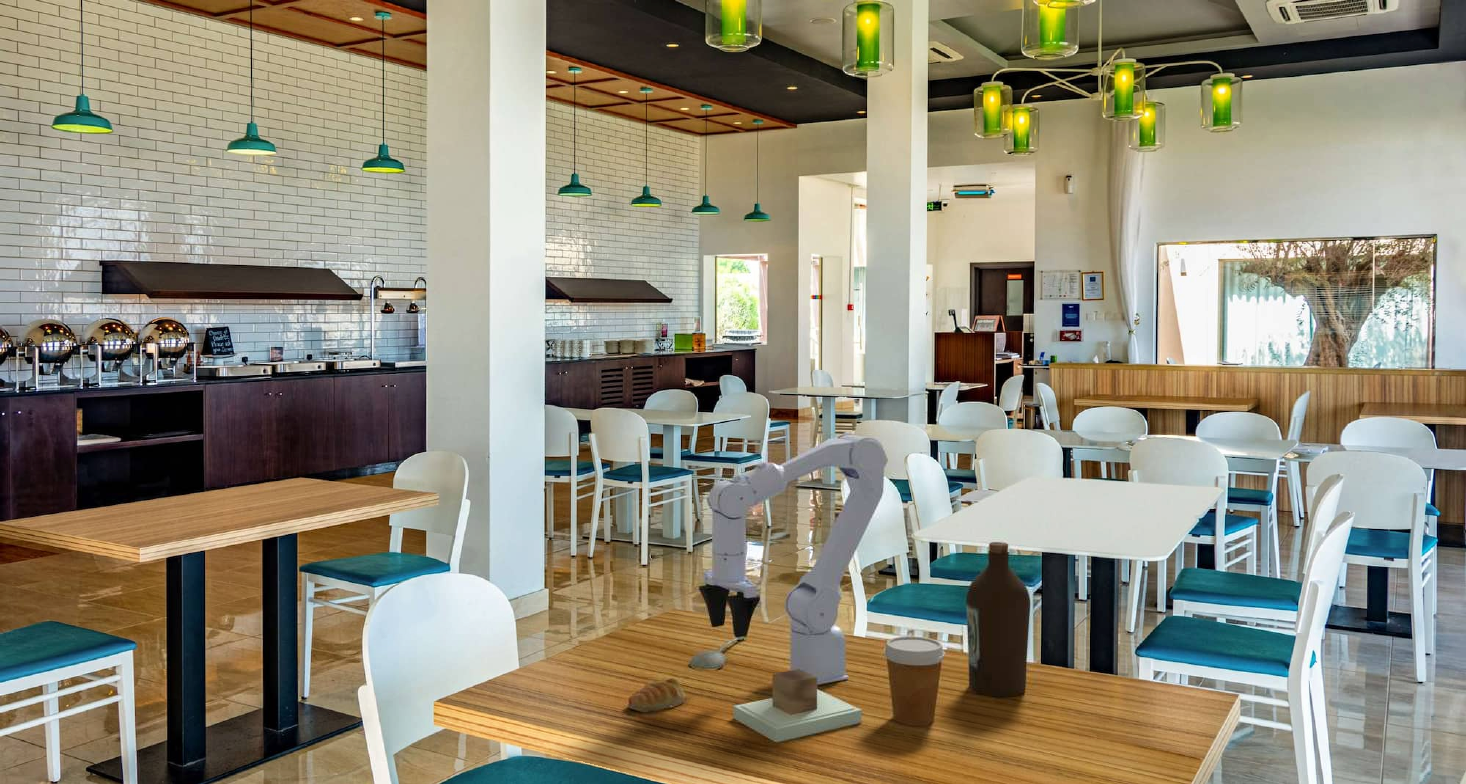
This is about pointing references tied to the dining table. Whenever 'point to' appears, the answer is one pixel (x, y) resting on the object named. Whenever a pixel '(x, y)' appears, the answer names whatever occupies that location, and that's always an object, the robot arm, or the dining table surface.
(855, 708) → the serving board
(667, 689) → the pastry
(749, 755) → the dining table surface
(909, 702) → the disposable coffee cup
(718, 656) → the soupspoon
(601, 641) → the dining table surface
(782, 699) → the walnut block
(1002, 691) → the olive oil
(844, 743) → the dining table surface
